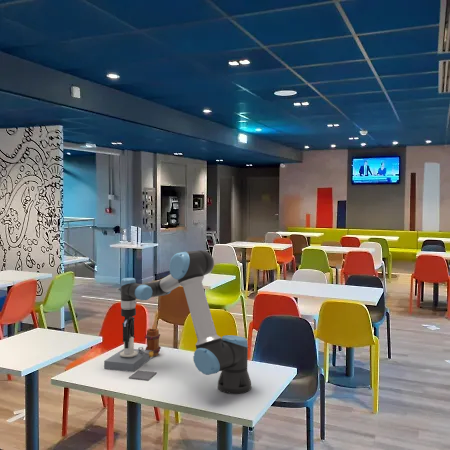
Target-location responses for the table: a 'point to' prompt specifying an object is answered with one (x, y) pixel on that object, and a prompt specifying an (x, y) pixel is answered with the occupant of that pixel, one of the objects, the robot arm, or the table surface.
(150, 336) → the mug
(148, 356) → the clip
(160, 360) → the table surface
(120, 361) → the socket
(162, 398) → the table surface
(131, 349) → the plug
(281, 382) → the table surface
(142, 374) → the pad
